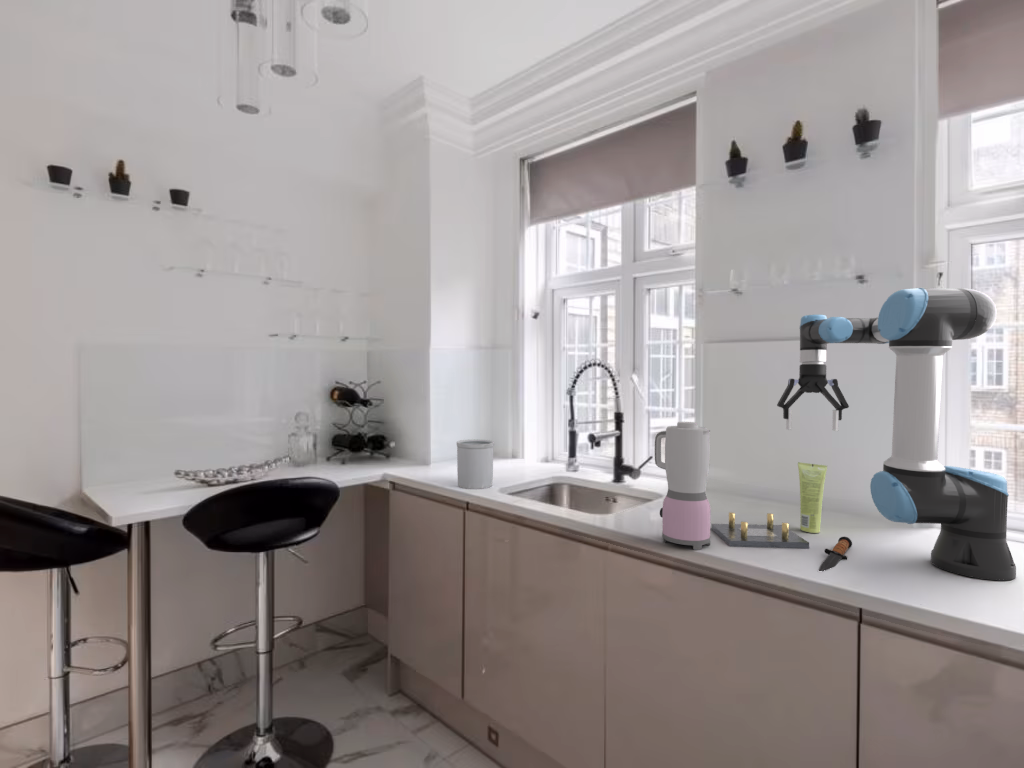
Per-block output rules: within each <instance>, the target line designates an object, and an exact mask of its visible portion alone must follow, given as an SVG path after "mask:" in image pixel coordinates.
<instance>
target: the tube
mask: <svg viewBox="0 0 1024 768" xmlns="http://www.w3.org/2000/svg"><path fill="white" fill-rule="evenodd" d="M797 467H798V474H799V475H798V476H799V477H798V478H799V495H800V496H799V498H800V499H799V502H800V525H799V526H800V530H801V531H802V532H804V533H810V534H819V533H820V532H821V520H822V510H823V509H822V507H823V498H824V490H825V489H824V488H825V483H826V482H825V480H826V477H827V476H826V475H827V471H828V465H827V464H818V463H810V462H803V461H802V462H800V461H797Z"/></svg>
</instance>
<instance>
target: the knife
mask: <svg viewBox="0 0 1024 768" xmlns="http://www.w3.org/2000/svg"><path fill="white" fill-rule="evenodd" d="M852 545H853V541H852V540H851V538H850V537H847V536H840V537H839V539H838V541H837V543H836V544H835V545H834V547H832V549H829V548H824V554H826V555H827V556H826V557H825V559H824V560H823V561H822V562H821V564H820V566H819V569H818V570H819V571H822V572H824V570H825V571H828V570H830V568H831V569H833V568H836V566H837V565H838V563H839V562H840V560H846V561H847V560H848V556H847V555H846V554H845V553H846V552H847V550H849V549H850V548H852ZM844 554H845V555H844Z"/></svg>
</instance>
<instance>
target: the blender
mask: <svg viewBox="0 0 1024 768" xmlns="http://www.w3.org/2000/svg"><path fill="white" fill-rule="evenodd" d="M710 432H711V430H710V429H709V428H708V427H706V426H705V427H704V426H699V425H698V422H695V421H677V422H676V425H669V426H667V427H666V428H665V431H660V432H658V433H657V434H655V435H656V436H655V438H654V463H655V465H656V466H657V467H658V468H660V469H663V470H665V475H666V476H665V477H666V482H667V492H666V496H665V497H664V499H663V502H662V507H661V508H660V510H659V516H660V518H662V521H661V522H662V530H661V531H662V533H661V536H662V543H666V542H670V543H673V544H678V545H684V546H692V550H694V551H700V550H702V547H703V545H707V546H711V515H712V514H711V504H710V501H709V499H708V496H707V492H706V489H707V484H708V477H709V472H710V465H711V464H710V461H711V459H710V458H711V442H710V438H711V437H710ZM664 438H665V442H664V461H662V439H664Z"/></svg>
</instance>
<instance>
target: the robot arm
mask: <svg viewBox="0 0 1024 768" xmlns="http://www.w3.org/2000/svg"><path fill="white" fill-rule="evenodd" d="M997 313H998V311H997V307H996V303H995V302H994V301H993V299H992V298H991V297H990V295H987V294H986V293H984V292H982V291H979V290H976V289H971V288H964V287H963V288H962V287H961V288H936V287H935V288H934V287H933V288H932V287H919V288H918V287H915V288H903V289H900V290H897V291H894V292H892V294H890V295H889V296H888V297H887V299H886V300H885V301H884V303H883V304H882V306H881V307H880V310H879V314H878V316H877V317H871V318H870V317H869V318H868V317H867V318H859V317H858V318H857V317H855V318H854V317H852V318H849V317H848V318H847V317H844V316H830V317H828V318H827V315H825V314H808V315H807V314H806V315H803V316H801V318H800V323H799V324H800V325H799V363H801V364H800V365H799V378H798V379H795V378H789V379H788V383H787V386H786V388H785V390H784V392H783V393H782V394H781V397H780V399H779V400H778V401H777V404H776V406H777V407H779V408H781V409H782V412H783V415H782V416H783V419H784V420H786V424H785V425H786V428H785V429H786V430H788V431H792V412H793V411H792V409H791V407H792V406H793V404H794V403H796V401H798V399H800V397H801V396H803V394H804V393H807V394H808V393H809V394H810V393H812V394H814V393H815V394H817V393H818V394H819V393H820V394H822V396H823V397H824V398H825V399H826V400H827V401H828V402H829V403H830V404H831V406H833V407H834V409H833V410H832V431H834V432H838V431H839V421H842V419H843V418H842V417H843V416H842V415H843V413H842V412H843V410H844V409H848V408H849V407H850V405H849V404H848V402H847V400H846V398H845V396H844V394H843V393H842V391H841V389H840V386H839V381H838V379H837V378H831V379H827V365H826V364H825V363H827V351H828V349H827V344H876V345H877V344H878V345H884V344H888V348H889V349H890V350H891V351H892V352H893V353H894V354H895V356H896V357H895V358H896V360H895V375H894V376H895V377H894V379H895V380H894V398H893V421H892V422H893V423H892V438H891V439H892V442H891V455H890V456H889V458H887V459H885V460H884V461H883V466H882V470H880V471H878V472H876V473H874V474H873V476H872V478H871V479H870V486H869V487H870V495H871V498H872V502H873V503H874V506H875V507H876V509H877V510H878V512H879V513H880V515H882V516H883V518H885V519H886V520H888V521H891V522H894V523H903V524H907V525H913V524H933V525H934V524H939V525H940V531H939V534H938V536H937V538H936V540H935V543H934V545H933V549H932V550H931V551H930V563H931V564H932V565H933V566H935V567H937V568H939V569H940V570H943V571H944V570H945V571H947V572H950V573H953V574H957V575H961V576H964V577H969V578H976V579H981V580H987V581H988V580H989V581H990V580H991V581H1010V580H1014V579H1016V577H1017V566H1016V563H1015V562H1014V558H1013V554H1012V553H1011V550H1010V547H1009V545H1008V542H1007V523H1008V522H1007V520H1008V499H1009V492H1008V481H1007V479H1006V477H1003V476H1002V475H1000V474H997V473H992V472H988V471H982V470H978V469H973V468H972V469H971V468H966V467H965V468H964V467H958V466H952V465H944V464H942V463H940V462H939V459H938V455H939V454H938V453H939V437H940V436H939V435H940V422H941V421H940V417H941V399H942V398H941V397H942V382H943V381H942V379H943V362H944V361H943V360H944V359H943V357H944V355H945V353H947V352H948V351H950V350H951V349H952V348H953V341H956V340H958V341H959V340H969V339H975V338H977V337H979V336H982V335H984V334H985V333H987V331H988V332H989V331H990V329H991V328H992V327H993V325H994V324H995V322H996V320H997V316H998V314H997ZM797 384H798V385H799V388H798V390H797V391H796V392H795V393H793V395H792V396H791V397H790V398H789V399H788V397H789V396H790V394H791V393H792V390H793V389H794V387H795V386H796V385H797ZM827 385H829V386H830V387H831V389H832V391H833V393H834V394H835V396H836V398H837V400H838V401H837V400H836V399H835V398H834V397H833V396H832V395H831V393H830V392H829V390H827V388H826V386H827Z"/></svg>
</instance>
